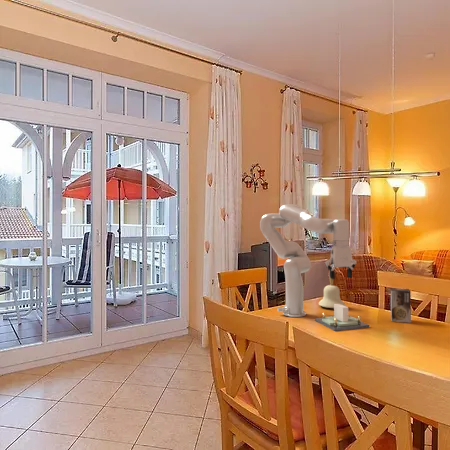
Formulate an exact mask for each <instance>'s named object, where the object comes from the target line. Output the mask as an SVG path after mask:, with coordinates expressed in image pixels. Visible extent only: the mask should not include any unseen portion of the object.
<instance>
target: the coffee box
mask: <svg viewBox="0 0 450 450" xmlns="http://www.w3.org/2000/svg"><path fill="white" fill-rule="evenodd" d="M411 299H412V298H411V289H410V288H393V287H392V288H390V320H391V322H392V323H393V322H394V323H396V322H397V323H410V324H411V323H412V315H411V314H412V304H411V303H412V301H411Z"/></svg>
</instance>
